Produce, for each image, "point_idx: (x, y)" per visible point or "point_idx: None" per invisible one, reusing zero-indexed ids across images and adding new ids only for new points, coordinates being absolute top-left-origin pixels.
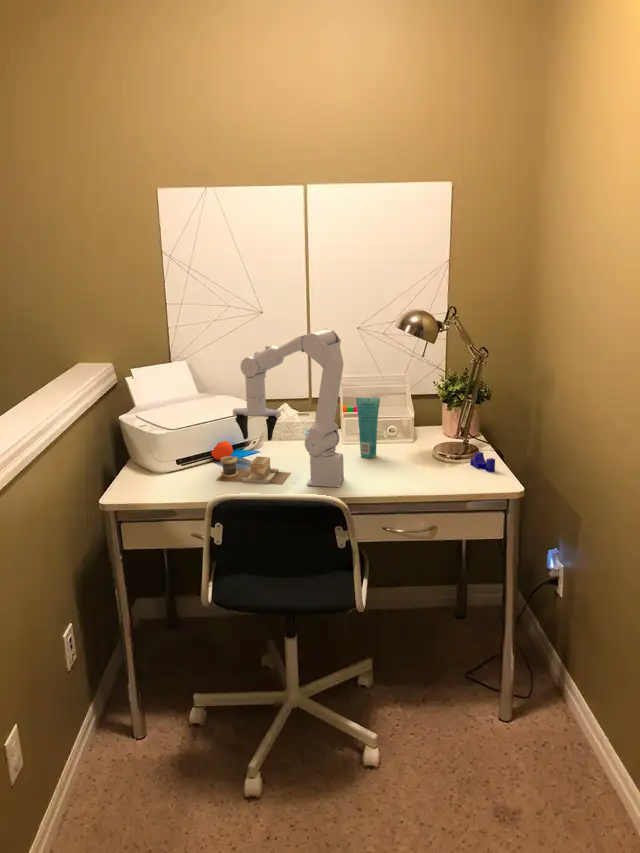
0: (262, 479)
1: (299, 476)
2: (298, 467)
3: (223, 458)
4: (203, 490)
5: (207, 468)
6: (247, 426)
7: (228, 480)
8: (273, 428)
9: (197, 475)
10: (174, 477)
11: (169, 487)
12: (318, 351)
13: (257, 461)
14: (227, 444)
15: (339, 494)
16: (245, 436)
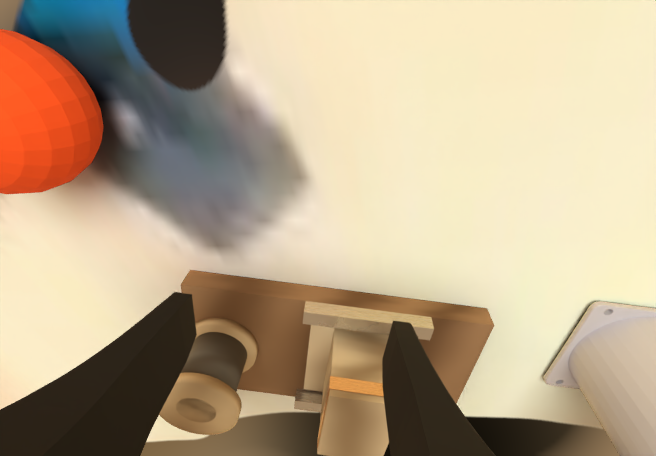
0: None
1: (524, 297)
2: (536, 187)
3: (166, 405)
4: None
5: (60, 212)
6: (130, 362)
7: (240, 384)
8: (450, 408)
9: (76, 288)
10: (4, 306)
11: (59, 376)
12: None
13: (347, 442)
14: (22, 156)
15: None
16: (185, 360)
